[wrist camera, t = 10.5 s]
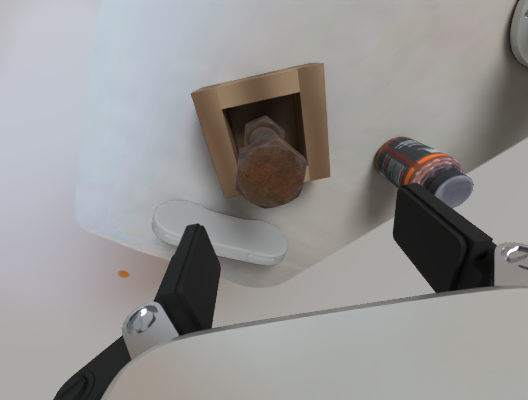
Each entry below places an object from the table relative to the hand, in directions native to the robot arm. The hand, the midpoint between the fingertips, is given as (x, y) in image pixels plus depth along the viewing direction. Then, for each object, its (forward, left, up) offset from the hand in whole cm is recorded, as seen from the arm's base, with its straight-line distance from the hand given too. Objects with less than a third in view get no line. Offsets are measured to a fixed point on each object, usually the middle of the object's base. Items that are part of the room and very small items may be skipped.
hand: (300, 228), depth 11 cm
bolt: (+1, 0, -22) cm, 22 cm away
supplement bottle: (-17, +8, -22) cm, 29 cm away
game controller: (+9, +13, -23) cm, 27 cm away
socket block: (0, 0, -22) cm, 22 cm away
